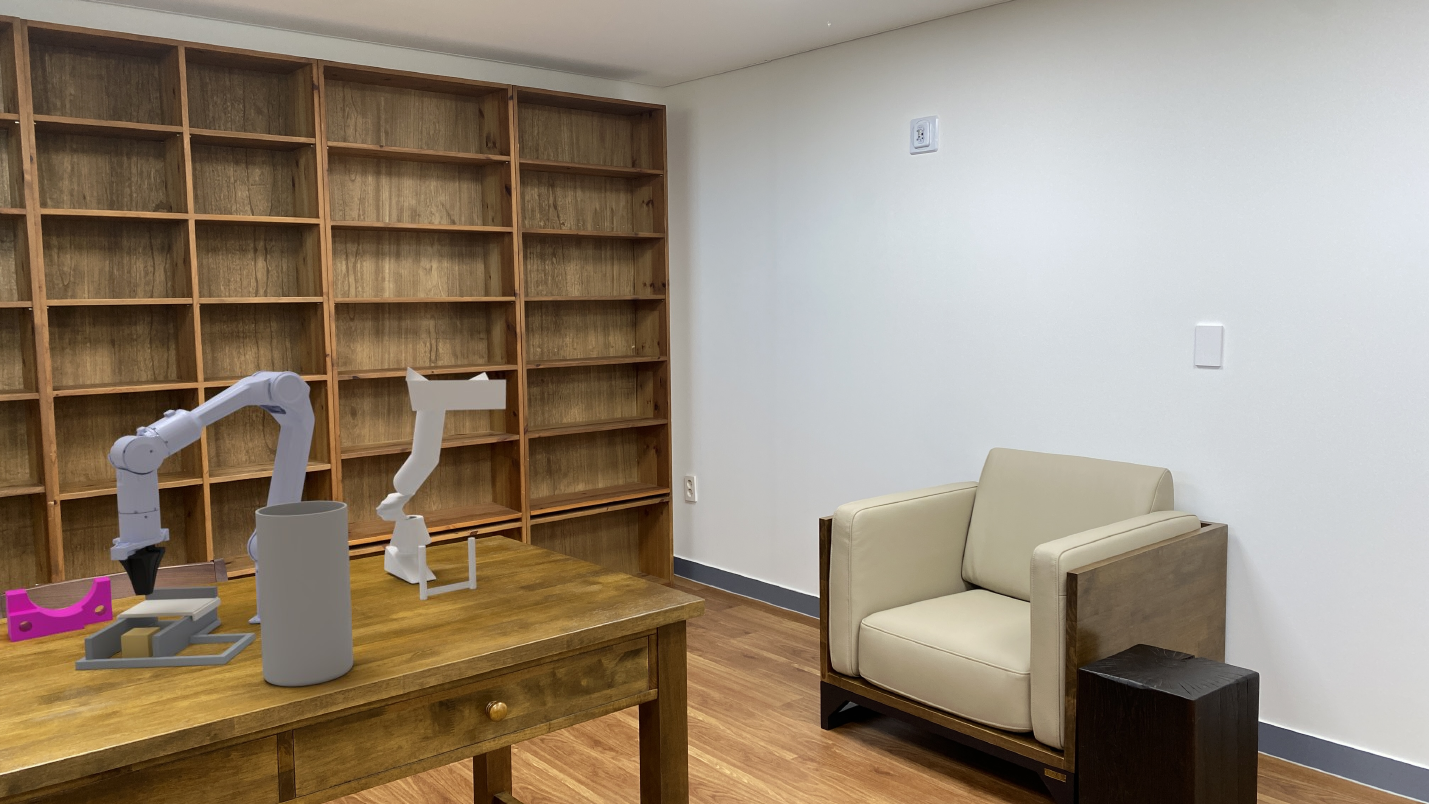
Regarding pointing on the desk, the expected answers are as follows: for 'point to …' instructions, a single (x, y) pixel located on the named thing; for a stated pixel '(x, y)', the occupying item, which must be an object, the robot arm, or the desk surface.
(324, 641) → the cylinder vase
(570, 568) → the desk surface
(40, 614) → the toy block
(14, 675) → the desk surface
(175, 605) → the cover
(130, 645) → the block
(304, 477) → the robot arm
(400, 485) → the desk lamp
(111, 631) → the gray square frame
